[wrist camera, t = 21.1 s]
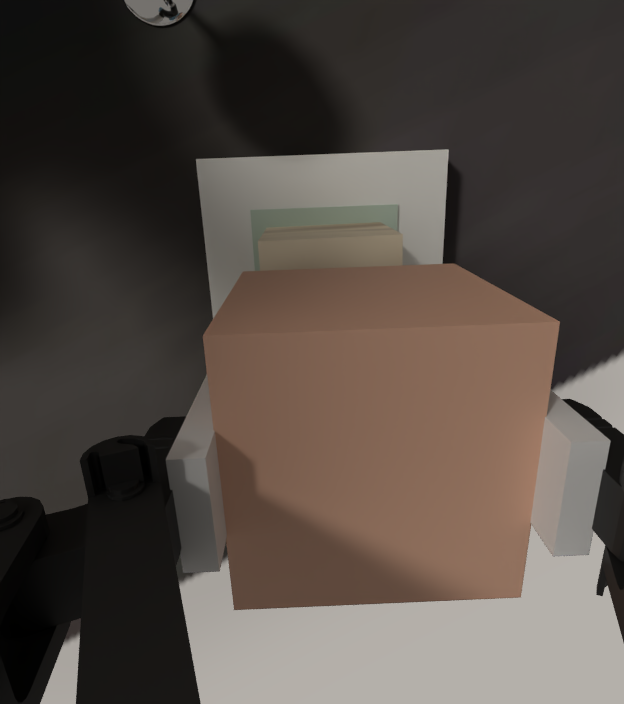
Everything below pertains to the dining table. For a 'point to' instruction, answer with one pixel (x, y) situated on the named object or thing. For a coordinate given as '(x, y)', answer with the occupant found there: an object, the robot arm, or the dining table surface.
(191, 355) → the dining table surface
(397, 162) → the base plate
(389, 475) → the terracotta block
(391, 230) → the maple block
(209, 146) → the dining table surface
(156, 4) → the wineglass
